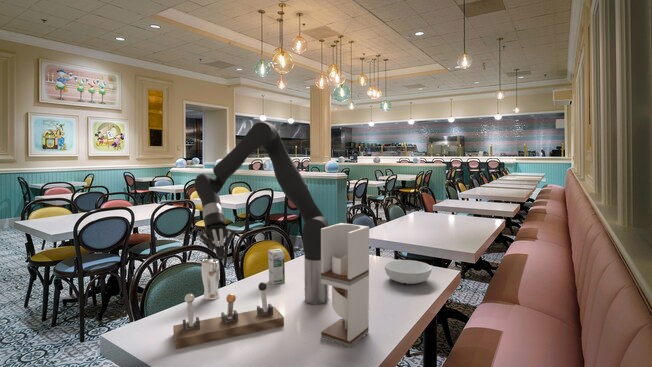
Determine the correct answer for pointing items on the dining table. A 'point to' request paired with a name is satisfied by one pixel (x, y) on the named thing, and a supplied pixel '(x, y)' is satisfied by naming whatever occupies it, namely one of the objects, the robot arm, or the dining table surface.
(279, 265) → the syrup box
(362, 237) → the display case
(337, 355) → the dining table surface
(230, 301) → the orange lever
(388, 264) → the serving bowl
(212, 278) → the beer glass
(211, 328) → the switch panel
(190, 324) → the cream lever
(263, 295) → the black lever
